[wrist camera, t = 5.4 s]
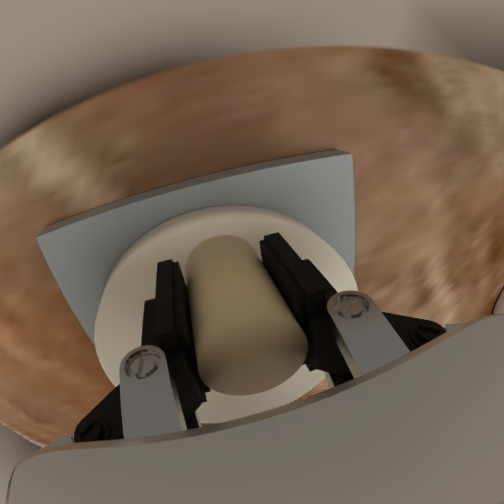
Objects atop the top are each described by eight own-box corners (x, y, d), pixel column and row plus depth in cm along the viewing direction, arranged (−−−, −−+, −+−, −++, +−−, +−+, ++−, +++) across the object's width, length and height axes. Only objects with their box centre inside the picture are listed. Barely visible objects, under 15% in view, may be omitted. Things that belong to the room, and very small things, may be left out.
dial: (380, 256, 16) (460, 326, 10) (274, 405, 21) (304, 479, 15) (141, 159, 11) (99, 214, 5) (90, 379, 15) (80, 474, 9)
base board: (339, 351, 22) (347, 363, 21) (151, 405, 20) (152, 420, 19) (336, 149, 14) (351, 153, 13) (46, 226, 12) (35, 237, 11)
